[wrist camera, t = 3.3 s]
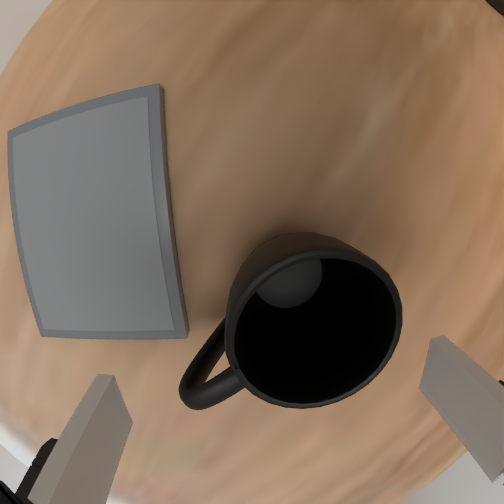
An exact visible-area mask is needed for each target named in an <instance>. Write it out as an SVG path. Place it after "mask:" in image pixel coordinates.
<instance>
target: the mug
mask: <svg viewBox="0 0 504 504" xmlns="http://www.w3.org/2000/svg"><path fill="white" fill-rule="evenodd" d="M401 328H402V304H401V300H400V297H399V293H398V290H397V288H396V286H395V284H394V282H393V281H392V279H391V277H390V276H389V274H388V273H387V272H386V271H385V270H384V269H383V268H382V267H381V266H380V265H379V264H378V263H377V262H376V261H374V260H373V259H371V258H370V257H368V256H367V255H365V254H363V253H362V252H360V251H359V250H357V249H355V248H353V247H352V246H350V245H348V244H346V243H344V242H342V241H340V240H338V239H336V238H333V237H329V236H325V235H321V234H317V233H310V232H295V233H289V234H284V235H280V236H277V237H275V238H273V239H271V240H269V241H267V242H265V243H263V244H262V245H261V246H260V247H258V248H257V249H256V250H254V251H253V252H252V253H251V255H250V256H249V257H248V258H247V260H246V261H245V262H244V263H243V265H242V266H241V267H240V270H239V272H238V274H237V276H236V278H235V280H234V282H233V284H232V287H231V290H230V294H229V299H228V304H227V311H226V317H225V318H224V319H223V321H222V322H221V323H220V324H219V326H218V327H217V328H216V329H215V331H214V332H213V333H212V335H211V336H210V337H209V339H208V340H207V341H206V343H205V344H204V345H203V347H202V348H201V349H200V351H199V352H198V354H197V355H196V356H195V358H194V359H193V361H192V362H191V364H190V365H189V367H188V368H187V370H186V372H185V373H184V375H183V377H182V379H181V382H180V385H179V395H180V398H181V400H182V401H183V402H184V404H185V405H186V406H188V407H189V408H190V409H195V410H203V409H206V408H209V407H211V406H214V405H216V404H218V403H220V402H222V401H224V400H225V399H227V398H229V397H231V396H232V395H234V394H236V393H237V392H239V391H240V390H242V389H243V388H246V389H247V390H249V391H250V392H251V393H252V394H253V395H255V396H257V397H258V398H260V399H262V400H264V401H266V402H268V403H271V404H274V405H278V406H282V407H285V408H298V409H306V408H315V407H322V406H325V405H329V404H332V403H336V402H339V401H341V400H343V399H345V398H347V397H349V396H351V395H353V394H355V393H356V392H358V391H359V390H361V389H362V388H364V387H365V386H366V385H368V384H369V383H370V382H371V381H372V380H373V379H374V378H375V377H376V376H377V375H378V374H379V373H380V372H381V371H382V370H383V368H384V367H385V365H386V364H387V363H388V361H389V360H390V358H391V357H392V355H393V352H394V350H395V348H396V346H397V344H398V341H399V337H400V333H401ZM224 351H225V352H226V355H227V358H228V361H229V364H230V367H229V368H227V369H226V370H224V371H223V372H221V373H220V374H218V375H217V376H215V377H214V378H212V379H210V380H209V381H207V382H205V381H206V379H207V378H208V376H209V374H210V373H211V371H212V369H213V368H214V366H215V365H216V363H217V362H218V360H219V359H220V357H221V356H222V354H223V353H224Z"/></svg>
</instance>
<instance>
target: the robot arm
mask: <svg viewBox="0 0 504 504" xmlns="http://www.w3.org/2000/svg"><path fill="white" fill-rule="evenodd" d="M487 1H488V2H489V3H490V4H491V5H492V6H493V7H494V8H495V9H497V10H498V11H499V12H500V13H501V14H503V15H504V0H487ZM419 389H420V390H421V391H422V393H423V394H424V395H425V396H426V397H427V399H428V400H429V401H430V402H431V404H432V405H433V406H434V407H435V409H436V410H437V411H438V412H439V414H440V415H441V416H442V417H443V419H444V420H445V421H446V422H447V424H448V425H449V426H450V428H451V429H452V430H453V431H454V433H455V434H456V435H457V436H458V438H459V439H460V440H461V442H462V443H463V444H464V446H465V447H466V448H467V450H468V451H469V452H470V453H471V455H472V456H473V457H474V459H475V460H476V461H477V463H478V464H479V465H480V467H481V468H482V469H483V471H484V472H485V474H486V475H487V476H488V478H489V479H490V480H491V482H494V481H495V480H497V479H498V478H499V477H501V476H502V475H504V382H503V381H501V380H500V381H497V380H496V379H495V378H493V377H492V376H491V375H490V374H489V373H488V372H487V371H486V370H484V369H483V368H482V367H481V366H480V365H479V364H477V363H476V362H475V361H474V360H473V359H472V358H470V357H469V356H468V355H467V354H466V353H464V352H463V351H462V350H461V349H460V348H459V347H457V346H456V345H455V344H454V343H452V342H451V341H450V340H449V339H448V338H446V337H445V336H444V335H443V336H439V337H436V338H433V339H431V340H430V345H429V350H428V354H427V359H426V363H425V367H424V371H423V375H422V379H421V382H420V386H419ZM132 424H133V421H132V419H131V417H130V415H129V412H128V410H127V407H126V405H125V403H124V400H123V398H122V395H121V393H120V390H119V387H118V385H117V382H116V379H115V377H114V375H107V374H98V375H97V376H96V378H95V379H94V381H93V382H92V384H91V386H90V387H89V389H88V390H87V392H86V394H85V395H84V397H83V399H82V400H81V402H80V403H79V405H78V407H77V408H76V410H75V412H74V413H73V415H72V417H71V418H70V420H69V422H68V424H67V425H66V427H65V429H64V430H63V432H62V434H61V436H60V437H59V439H54V438H51V439H50V440H48V441H47V442H46V443H45V444H44V445H42V447H41V448H40V450H39V452H38V453H37V455H36V458H35V459H34V460H33V462H32V466H30V467H29V469H28V471H27V473H26V475H25V476H24V478H23V480H22V482H21V484H20V486H19V487H18V489H17V491H16V493H15V494H14V493H13V492H12V491H11V490H10V489H9V488H8V487H7V486H6V484H4V483H3V482H2V481H0V504H106V501H107V498H108V494H109V491H110V488H111V485H112V482H113V479H114V476H115V473H116V470H117V467H118V464H119V461H120V458H121V455H122V452H123V450H124V447H125V444H126V441H127V438H128V435H129V433H130V430H131V427H132Z"/></svg>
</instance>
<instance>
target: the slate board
mask: <svg viewBox="0 0 504 504" xmlns="http://www.w3.org/2000/svg"><path fill="white" fill-rule="evenodd" d="M8 176H9V190H10V201H11V210H12V218H13V225H14V232H15V238H16V244H17V249H18V254H19V259H20V264H21V268H22V273H23V277H24V281H25V285H26V289H27V293H28V296H29V300H30V303H31V307H32V310H33V313H34V316H35V320H36V323H37V326H38V329H39V332H40V334H41V337H56V338H76V339H114V340H142V339H183V338H187V337H188V334H189V326H188V320H187V315H186V309H185V303H184V297H183V291H182V284H181V278H180V271H179V264H178V257H177V250H176V242H175V234H174V226H173V217H172V208H171V199H170V188H169V177H168V165H167V152H166V137H165V119H164V93H163V88H162V86H161V85H160V84H155V85H150V86H145V87H140V88H136V89H131V90H127V91H123V92H119V93H115V94H111V95H107V96H103V97H100V98H96V99H93V100H89V101H86V102H83V103H79V104H76V105H73V106H70V107H67V108H64V109H61V110H59V111H56V112H53V113H50V114H48V115H45V116H42V117H40V118H37V119H35V120H32V121H30V122H27V123H25V124H23V125H20V126H18V127H16V128H14V129H11V130H9V131H8Z"/></svg>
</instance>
